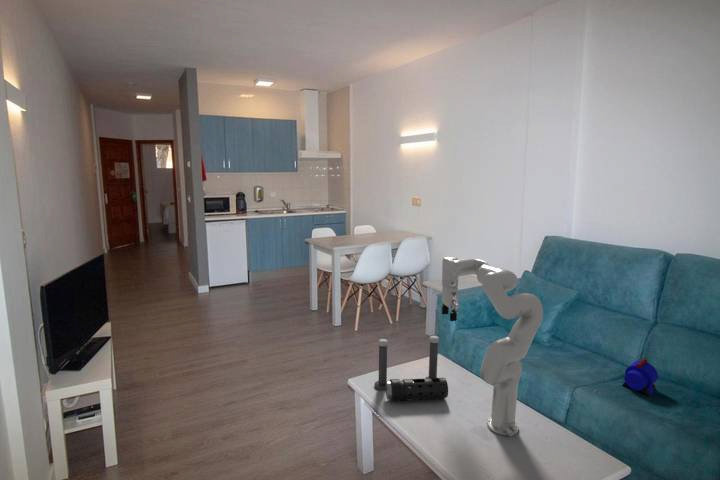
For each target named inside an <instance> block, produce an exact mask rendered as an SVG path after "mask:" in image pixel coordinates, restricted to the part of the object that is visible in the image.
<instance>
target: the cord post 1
mask: <svg viewBox="0 0 720 480" xmlns="http://www.w3.org/2000/svg"><path fill="white" fill-rule="evenodd" d="M388 345H389V343H388V339H386V338H380V339H379V340H378V380H376V381H375V382H374V388H375V390H378V391H382V392H386V381H388V380H387V379H388V378H387V377H388V376H387V375H388V371H387V370H388Z"/></svg>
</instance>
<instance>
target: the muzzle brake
mask: <svg viewBox="0 0 720 480" xmlns="http://www.w3.org/2000/svg"><path fill="white" fill-rule="evenodd" d="M385 396H386V399H387V400H390V401H391V402H395V401H396V402H399V401H400V402H406V401H408V400H409V401H410V400H421V401H422V400H439V399H440V400H441V399H442V400H443V399H446V398H448V396H449V386H448V380H447V379H446V377H437V378H426V377H425V378H409V379H408V378H406V379H405V378H404V379H402V380H401V379H399V378H392V379H391V378H390V379H389V380H387V381H386V391H385Z"/></svg>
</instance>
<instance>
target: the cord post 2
mask: <svg viewBox="0 0 720 480" xmlns="http://www.w3.org/2000/svg"><path fill="white" fill-rule="evenodd" d="M439 338H440V337H439V336H437V335H430V336H429V356H428V357H429V359H428V360H429V361H428V376H425V378H438V377H437V376H438V354H439V353H438V352H439Z"/></svg>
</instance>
